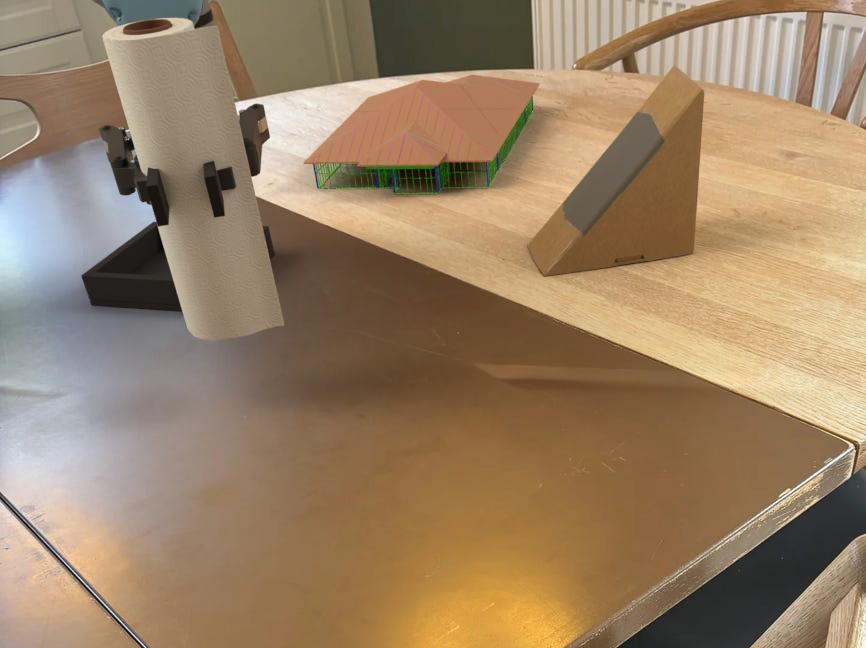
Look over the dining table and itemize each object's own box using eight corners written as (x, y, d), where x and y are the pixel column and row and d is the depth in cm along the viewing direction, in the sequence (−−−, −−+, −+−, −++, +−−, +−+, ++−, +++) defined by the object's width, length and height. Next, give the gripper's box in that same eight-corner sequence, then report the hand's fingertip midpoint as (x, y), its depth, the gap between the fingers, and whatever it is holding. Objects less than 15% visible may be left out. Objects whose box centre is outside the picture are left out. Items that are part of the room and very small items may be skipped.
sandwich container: (524, 244, 105) (516, 85, 95) (668, 223, 106) (675, 63, 96) (542, 277, 99) (535, 110, 89) (694, 254, 100) (705, 86, 90)
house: (300, 199, 120) (286, 125, 115) (381, 113, 143) (372, 48, 138) (488, 199, 115) (483, 122, 110) (540, 109, 138) (538, 42, 133)
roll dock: (91, 305, 103) (80, 275, 100) (161, 249, 112) (153, 221, 110) (213, 313, 99) (204, 282, 97) (275, 254, 108) (268, 225, 106)
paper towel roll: (175, 328, 83) (85, 29, 68) (239, 302, 85) (165, 9, 71) (219, 355, 78) (134, 43, 64) (285, 327, 81) (217, 21, 67)
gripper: (289, 141, 90) (313, 237, 73) (104, 169, 89) (85, 274, 72) (270, 46, 85) (292, 125, 68) (74, 74, 84) (45, 162, 66)
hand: (186, 201), depth 70 cm, fingers closed on paper towel roll, 3 cm apart
